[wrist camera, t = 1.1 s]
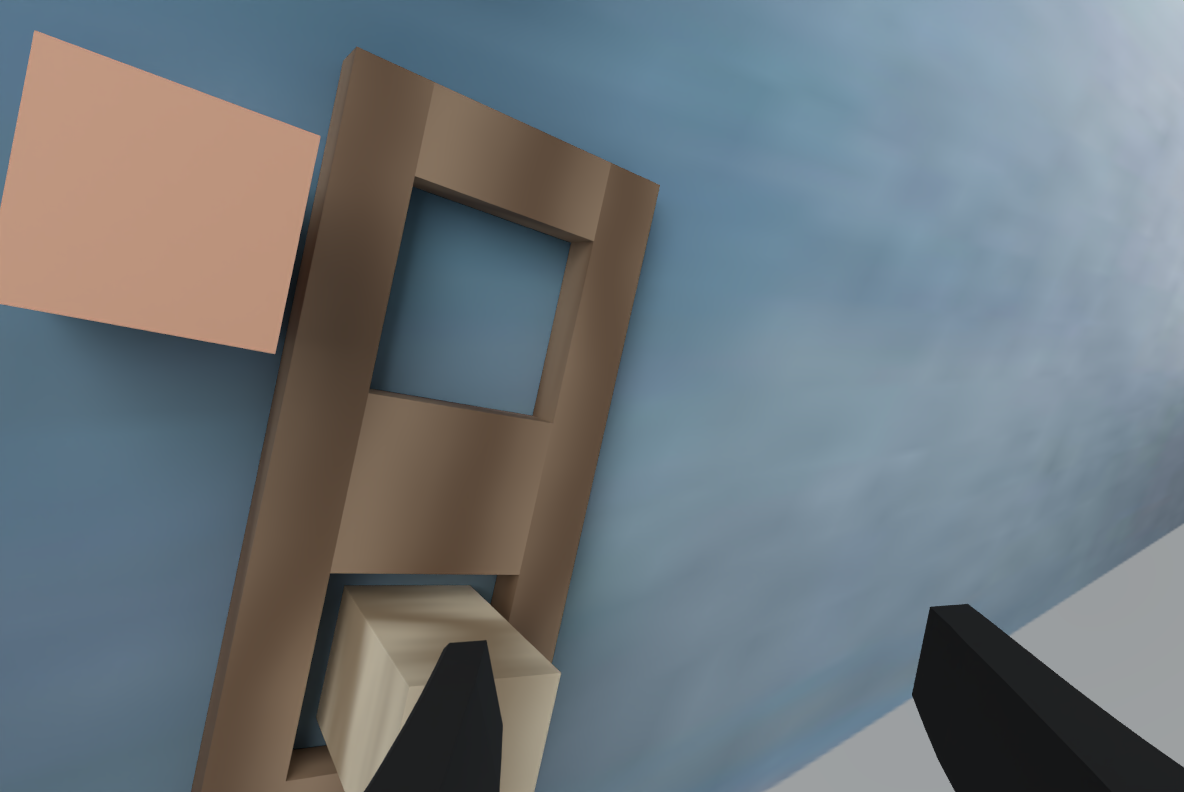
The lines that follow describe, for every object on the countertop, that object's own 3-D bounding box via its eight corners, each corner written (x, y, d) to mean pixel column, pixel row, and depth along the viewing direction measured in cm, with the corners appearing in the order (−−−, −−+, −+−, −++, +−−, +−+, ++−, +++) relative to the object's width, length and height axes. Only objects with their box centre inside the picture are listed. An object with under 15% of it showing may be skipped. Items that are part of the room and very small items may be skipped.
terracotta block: (34, 290, 16) (-19, 300, 11) (69, 108, 16) (33, 30, 11) (238, 330, 19) (275, 353, 14) (270, 173, 19) (320, 136, 13)
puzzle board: (178, 849, 20) (181, 887, 19) (343, 61, 19) (356, 46, 18) (500, 786, 26) (518, 811, 25) (635, 189, 26) (659, 185, 24)
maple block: (315, 717, 22) (371, 860, 17) (344, 585, 22) (409, 686, 16) (443, 703, 25) (526, 823, 19) (469, 585, 24) (561, 672, 19)
